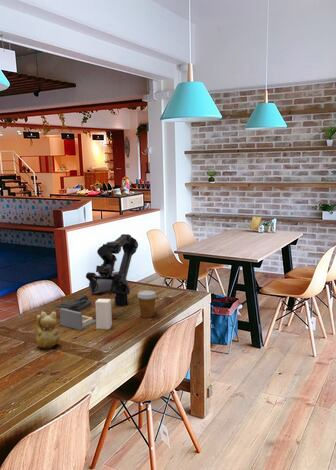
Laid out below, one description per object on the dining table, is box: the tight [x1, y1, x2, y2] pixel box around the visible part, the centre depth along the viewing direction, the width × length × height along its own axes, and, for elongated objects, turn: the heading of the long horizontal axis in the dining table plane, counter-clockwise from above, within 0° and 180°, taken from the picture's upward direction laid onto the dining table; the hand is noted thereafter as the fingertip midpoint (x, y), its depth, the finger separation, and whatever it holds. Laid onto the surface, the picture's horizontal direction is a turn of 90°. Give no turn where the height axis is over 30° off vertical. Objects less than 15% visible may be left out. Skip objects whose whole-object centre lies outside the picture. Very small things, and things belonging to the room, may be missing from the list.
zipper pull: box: [54, 294, 92, 312], centre depth 222 cm, size 9×7×25 cm
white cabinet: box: [95, 298, 113, 330], centre depth 199 cm, size 6×6×13 cm
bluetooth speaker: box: [88, 271, 119, 294], centre depth 256 cm, size 23×9×10 cm, turn 145°
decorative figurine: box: [35, 311, 61, 350], centre depth 177 cm, size 10×8×15 cm
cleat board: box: [59, 308, 96, 331], centre depth 203 cm, size 11×13×8 cm
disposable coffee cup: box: [136, 289, 157, 318], centre depth 213 cm, size 10×10×12 cm
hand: (101, 294), depth 206 cm, fingers open, 9 cm apart
